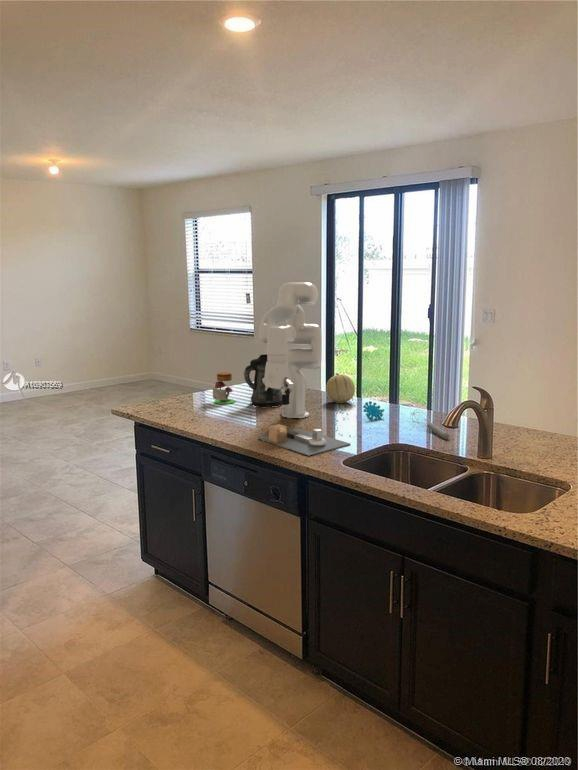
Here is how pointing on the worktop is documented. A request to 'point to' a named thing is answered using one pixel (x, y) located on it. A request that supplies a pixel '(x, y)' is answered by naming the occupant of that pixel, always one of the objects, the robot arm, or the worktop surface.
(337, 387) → the cantaloupe
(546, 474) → the worktop surface
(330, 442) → the mat
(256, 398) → the beer stein
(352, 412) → the worktop surface
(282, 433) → the wooden block
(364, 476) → the worktop surface
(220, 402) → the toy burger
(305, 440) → the ratchet
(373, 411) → the teal virus model
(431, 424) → the kitchen whisk
